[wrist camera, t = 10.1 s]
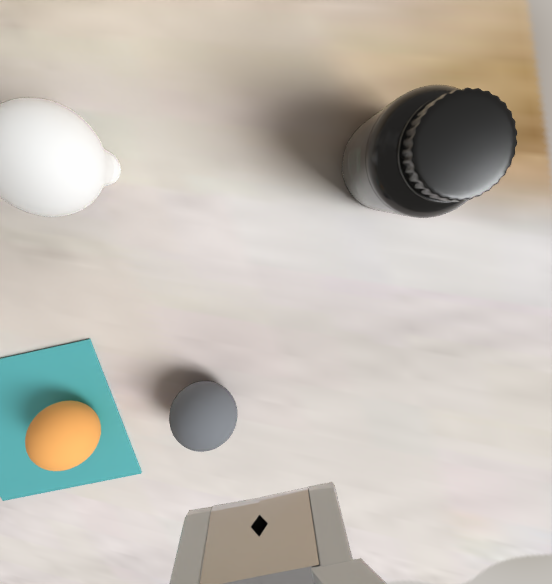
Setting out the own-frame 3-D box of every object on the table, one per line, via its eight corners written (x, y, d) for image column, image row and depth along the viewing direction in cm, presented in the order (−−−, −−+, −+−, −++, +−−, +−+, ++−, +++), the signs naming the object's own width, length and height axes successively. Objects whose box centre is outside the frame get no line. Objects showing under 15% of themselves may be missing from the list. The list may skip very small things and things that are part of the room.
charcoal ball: (260, 425, 30) (230, 397, 35) (225, 383, 28) (198, 358, 32) (210, 478, 29) (185, 441, 33) (167, 439, 26) (147, 405, 31)
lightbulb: (54, 182, 28) (-78, 177, 18) (87, 107, 27) (-34, 53, 16) (127, 224, 29) (43, 244, 18) (162, 154, 28) (94, 132, 17)
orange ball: (123, 443, 32) (98, 425, 36) (89, 395, 30) (67, 381, 33) (61, 497, 28) (41, 470, 32) (18, 447, 26) (2, 425, 30)
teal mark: (4, 499, 36) (2, 500, 36) (-62, 372, 32) (-64, 373, 32) (141, 471, 35) (141, 473, 35) (90, 338, 32) (88, 339, 31)
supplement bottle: (428, 108, 27) (544, 46, 15) (432, 202, 29) (539, 211, 17) (335, 124, 27) (381, 74, 16) (345, 217, 29) (393, 234, 17)
